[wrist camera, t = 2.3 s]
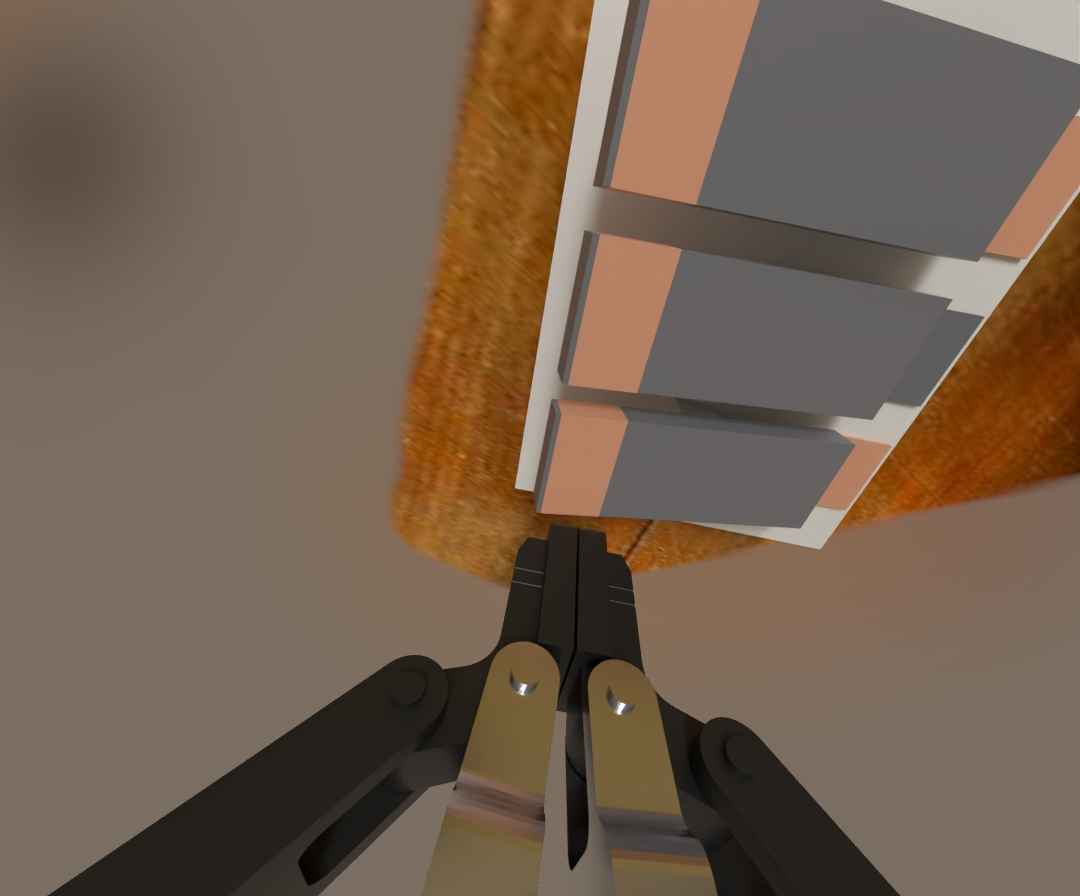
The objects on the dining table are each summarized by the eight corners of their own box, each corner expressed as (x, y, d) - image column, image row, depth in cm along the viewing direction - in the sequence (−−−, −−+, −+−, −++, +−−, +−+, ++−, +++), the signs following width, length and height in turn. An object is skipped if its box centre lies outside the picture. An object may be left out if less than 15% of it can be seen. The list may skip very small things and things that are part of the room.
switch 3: (833, 429, 17) (856, 444, 16) (783, 510, 19) (800, 529, 18) (551, 398, 15) (555, 413, 14) (533, 493, 17) (535, 512, 16)
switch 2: (919, 291, 14) (953, 298, 13) (848, 406, 16) (872, 420, 15) (584, 229, 12) (593, 232, 11) (557, 370, 14) (561, 384, 13)
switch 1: (1047, 82, 11) (1105, 71, 10) (940, 257, 13) (978, 262, 12) (637, -44, 9) (656, -75, 8) (592, 186, 11) (602, 185, 10)
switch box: (1064, 50, 14) (1301, -31, 9) (787, 501, 24) (834, 570, 19) (607, -34, 14) (616, -155, 9) (525, 449, 24) (510, 504, 20)
